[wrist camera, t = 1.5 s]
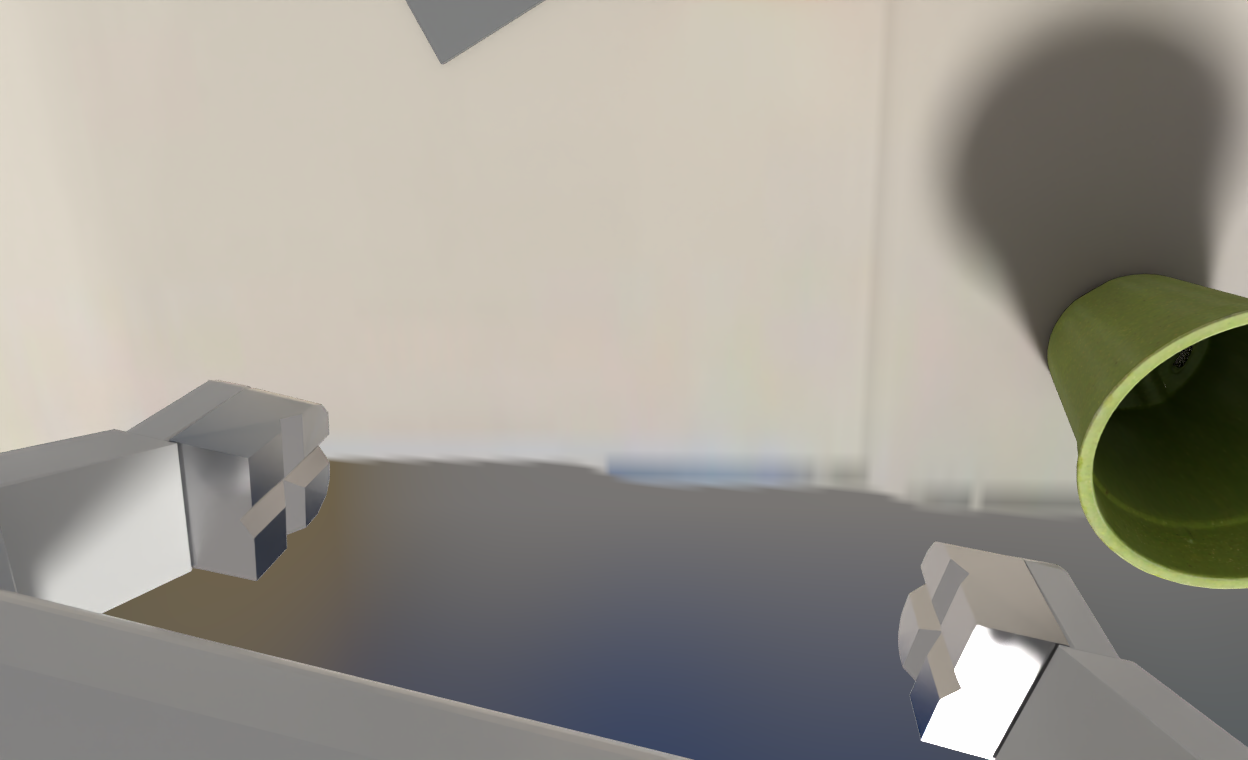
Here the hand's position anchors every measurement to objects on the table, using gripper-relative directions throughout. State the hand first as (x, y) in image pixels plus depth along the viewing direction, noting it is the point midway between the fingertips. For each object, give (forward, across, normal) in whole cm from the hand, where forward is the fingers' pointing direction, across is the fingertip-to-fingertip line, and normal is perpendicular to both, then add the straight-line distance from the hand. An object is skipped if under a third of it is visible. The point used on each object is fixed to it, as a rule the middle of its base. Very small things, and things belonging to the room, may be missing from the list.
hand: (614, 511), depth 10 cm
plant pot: (+30, -22, +4) cm, 37 cm away
